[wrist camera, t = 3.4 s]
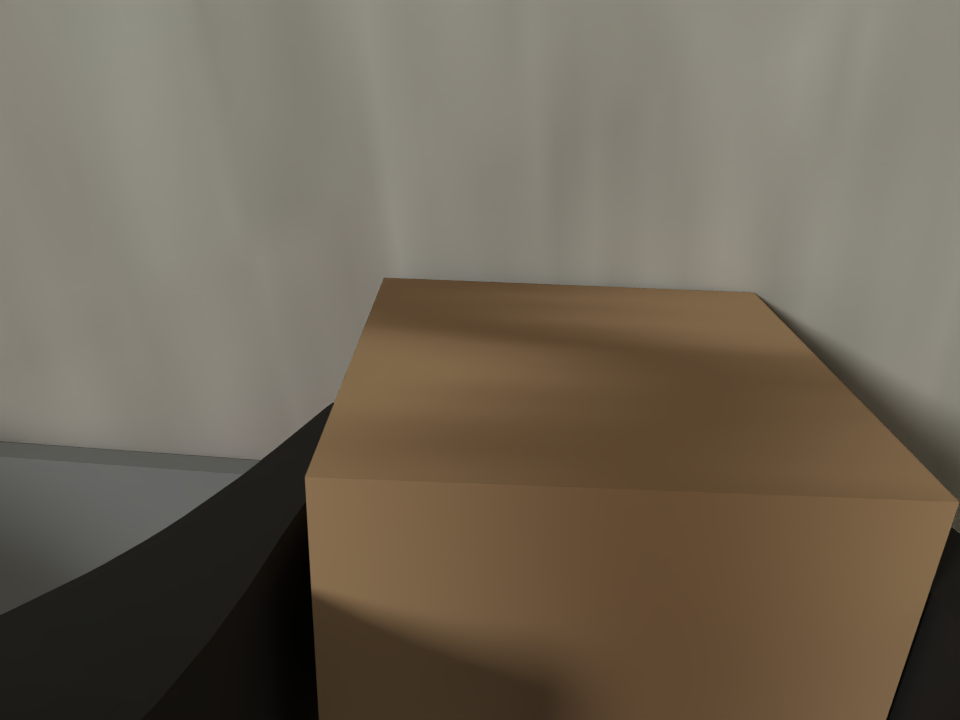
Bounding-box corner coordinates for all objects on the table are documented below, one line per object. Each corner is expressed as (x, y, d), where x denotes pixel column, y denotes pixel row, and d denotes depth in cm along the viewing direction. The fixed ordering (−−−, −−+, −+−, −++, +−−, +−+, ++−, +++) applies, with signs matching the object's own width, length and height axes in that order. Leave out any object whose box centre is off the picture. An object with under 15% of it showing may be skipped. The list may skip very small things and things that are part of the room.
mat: (-66, 810, 17) (-79, 828, 17) (-237, 424, 13) (-259, 437, 12) (474, 861, 17) (473, 880, 16) (497, 477, 12) (495, 493, 12)
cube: (386, 576, 13) (329, 899, 8) (384, 278, 11) (304, 477, 6) (697, 588, 13) (820, 915, 8) (753, 293, 11) (958, 501, 6)
